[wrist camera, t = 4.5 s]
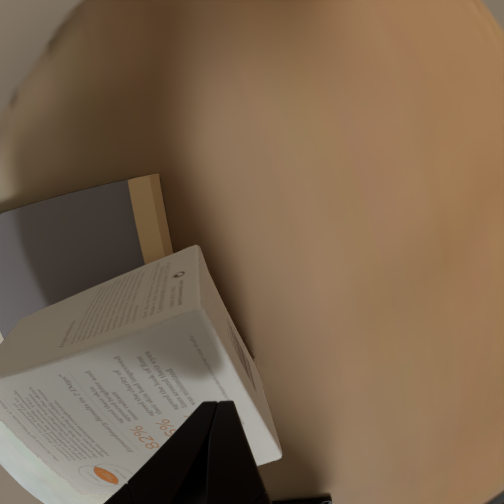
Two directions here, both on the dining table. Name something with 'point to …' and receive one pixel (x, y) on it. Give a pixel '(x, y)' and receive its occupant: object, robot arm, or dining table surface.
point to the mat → (78, 243)
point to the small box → (128, 373)
